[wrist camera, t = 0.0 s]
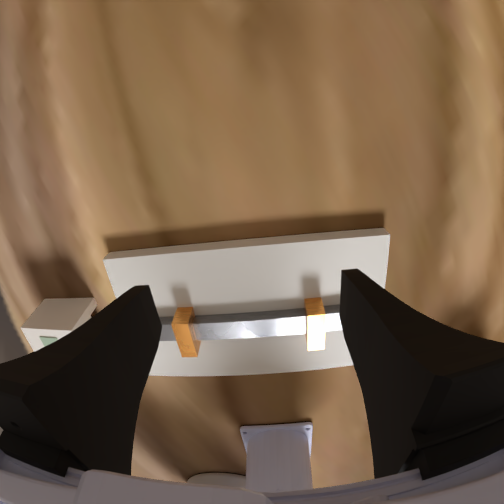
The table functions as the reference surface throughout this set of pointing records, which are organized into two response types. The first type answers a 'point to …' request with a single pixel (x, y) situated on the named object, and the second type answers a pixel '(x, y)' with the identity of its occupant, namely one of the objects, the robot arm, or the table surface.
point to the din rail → (251, 325)
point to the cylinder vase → (219, 479)
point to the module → (56, 319)
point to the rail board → (251, 294)
